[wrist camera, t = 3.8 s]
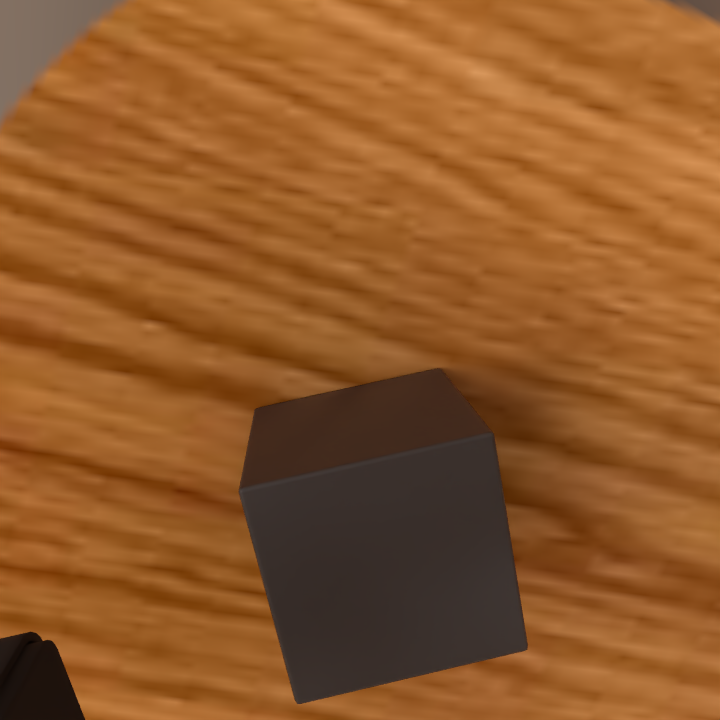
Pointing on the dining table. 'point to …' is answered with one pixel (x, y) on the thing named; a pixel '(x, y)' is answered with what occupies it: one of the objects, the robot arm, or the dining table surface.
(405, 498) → the block
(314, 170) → the dining table surface
